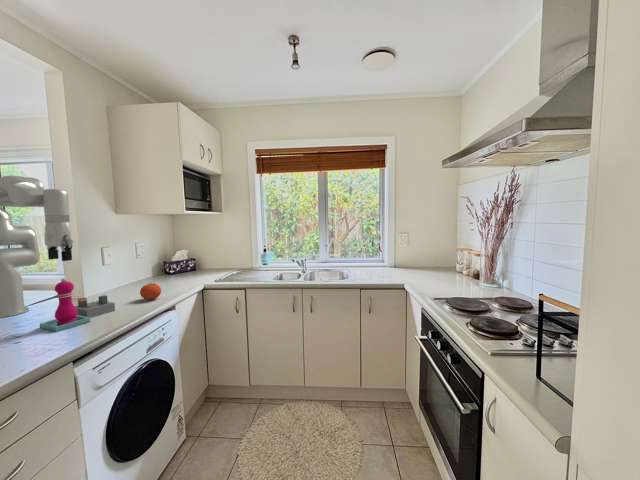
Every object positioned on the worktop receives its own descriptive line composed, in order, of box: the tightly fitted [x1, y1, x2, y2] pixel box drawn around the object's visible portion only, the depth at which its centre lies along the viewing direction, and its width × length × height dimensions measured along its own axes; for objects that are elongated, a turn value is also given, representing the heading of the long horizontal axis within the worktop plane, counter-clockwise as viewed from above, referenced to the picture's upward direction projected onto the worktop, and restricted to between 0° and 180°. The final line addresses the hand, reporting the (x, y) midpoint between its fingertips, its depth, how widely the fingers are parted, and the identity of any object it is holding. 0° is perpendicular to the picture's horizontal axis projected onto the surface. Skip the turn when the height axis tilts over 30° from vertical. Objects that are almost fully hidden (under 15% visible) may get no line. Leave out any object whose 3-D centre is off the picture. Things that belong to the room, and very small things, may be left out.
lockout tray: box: [39, 315, 91, 333], centre depth 119 cm, size 12×12×2 cm
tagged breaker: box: [77, 297, 88, 307], centre depth 132 cm, size 3×2×4 cm
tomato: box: [139, 281, 162, 301], centre depth 157 cm, size 10×10×10 cm
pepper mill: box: [54, 277, 78, 326], centre depth 118 cm, size 7×7×20 cm
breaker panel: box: [74, 299, 116, 319], centre depth 135 cm, size 12×12×4 cm
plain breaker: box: [98, 294, 109, 304], centre depth 136 cm, size 2×2×4 cm
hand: (60, 259), depth 118 cm, fingers open, 9 cm apart
